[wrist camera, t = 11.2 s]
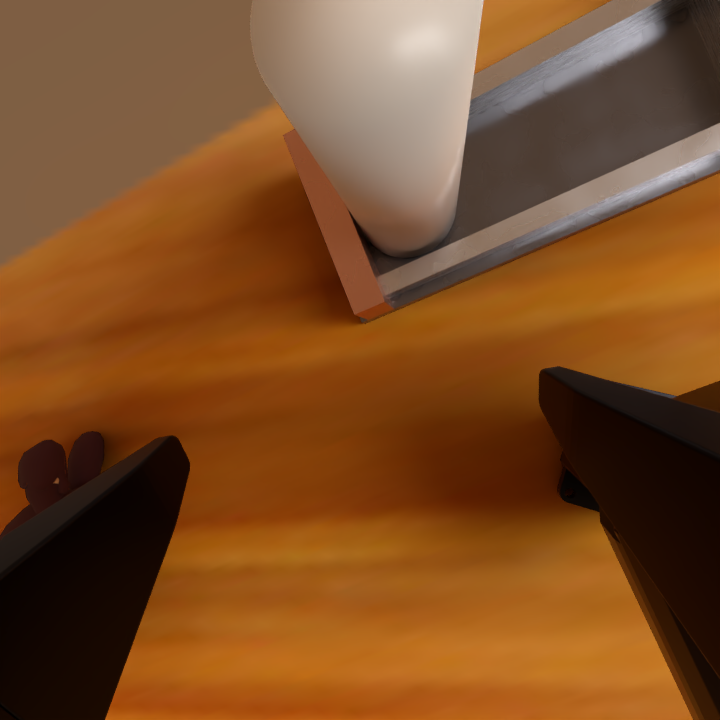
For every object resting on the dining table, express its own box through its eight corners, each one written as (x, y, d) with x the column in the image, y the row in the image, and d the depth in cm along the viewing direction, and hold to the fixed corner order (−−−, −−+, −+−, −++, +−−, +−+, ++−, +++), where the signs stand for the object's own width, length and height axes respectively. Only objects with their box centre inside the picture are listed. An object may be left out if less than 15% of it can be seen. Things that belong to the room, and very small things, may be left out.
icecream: (79, 745, 19) (96, 445, 20) (-75, 749, 19) (-53, 443, 19) (150, 646, 26) (160, 427, 27) (39, 647, 25) (52, 426, 26)
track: (702, -28, 18) (791, -153, 13) (781, 146, 17) (899, 78, 13) (308, 181, 22) (275, 139, 17) (365, 323, 21) (346, 318, 17)
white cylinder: (434, 143, 19) (427, -177, 7) (471, 232, 19) (524, 49, 7) (346, 188, 20) (218, -31, 8) (380, 273, 20) (298, 171, 8)
